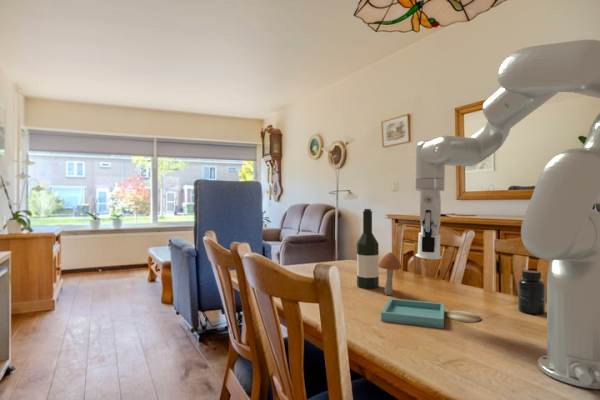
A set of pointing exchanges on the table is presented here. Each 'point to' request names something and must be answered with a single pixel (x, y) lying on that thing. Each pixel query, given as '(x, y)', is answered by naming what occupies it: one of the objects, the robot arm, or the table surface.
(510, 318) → the table surface
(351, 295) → the table surface
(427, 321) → the tray
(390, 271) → the mushroom
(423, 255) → the downlight
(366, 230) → the wine bottle
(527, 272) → the supplement bottle
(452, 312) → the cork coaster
